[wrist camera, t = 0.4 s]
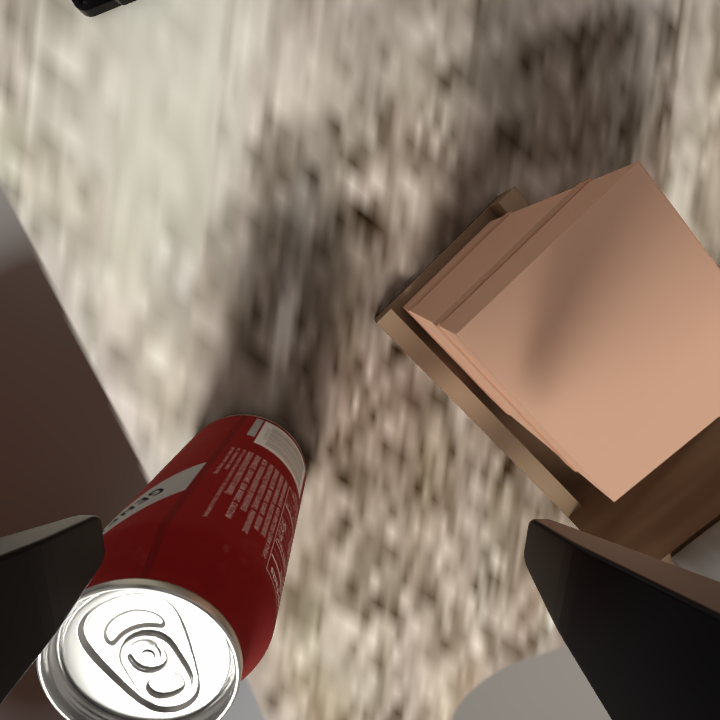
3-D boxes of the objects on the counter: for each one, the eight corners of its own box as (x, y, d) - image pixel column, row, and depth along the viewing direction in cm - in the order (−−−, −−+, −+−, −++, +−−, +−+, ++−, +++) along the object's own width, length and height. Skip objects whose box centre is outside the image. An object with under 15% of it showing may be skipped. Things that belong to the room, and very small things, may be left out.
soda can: (279, 392, 21) (196, 529, 10) (325, 493, 23) (301, 721, 11) (169, 434, 22) (-40, 616, 10) (221, 532, 23) (90, 793, 11)
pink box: (401, 307, 20) (453, 334, 10) (489, 220, 19) (639, 157, 9) (489, 399, 21) (613, 504, 11) (576, 321, 20) (790, 360, 10)
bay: (374, 319, 21) (396, 352, 11) (499, 195, 20) (639, 117, 10) (574, 522, 24) (723, 682, 14) (693, 424, 23) (939, 528, 13)
